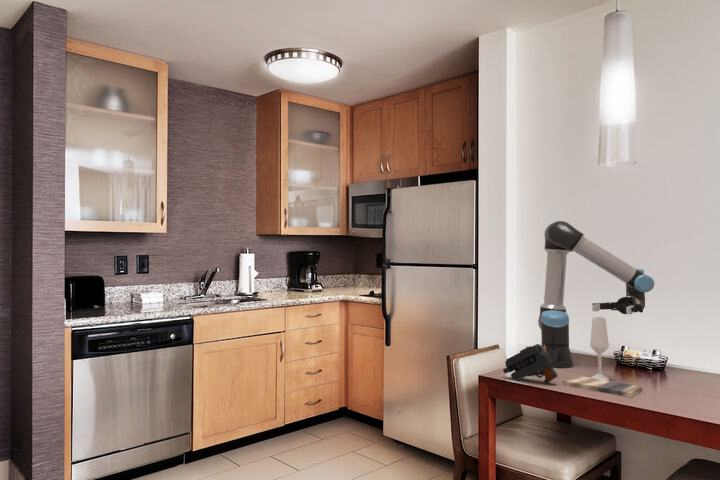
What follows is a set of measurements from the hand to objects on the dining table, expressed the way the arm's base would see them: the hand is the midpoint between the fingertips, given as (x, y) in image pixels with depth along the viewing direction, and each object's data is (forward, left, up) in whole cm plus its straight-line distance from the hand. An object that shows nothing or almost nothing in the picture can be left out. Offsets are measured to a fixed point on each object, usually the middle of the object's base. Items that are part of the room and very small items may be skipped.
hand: (609, 309), depth 213 cm
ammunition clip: (-21, -23, -27) cm, 41 cm away
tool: (-18, -34, -27) cm, 47 cm away
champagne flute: (0, -11, -27) cm, 29 cm away
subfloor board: (+6, -25, -27) cm, 37 cm away
